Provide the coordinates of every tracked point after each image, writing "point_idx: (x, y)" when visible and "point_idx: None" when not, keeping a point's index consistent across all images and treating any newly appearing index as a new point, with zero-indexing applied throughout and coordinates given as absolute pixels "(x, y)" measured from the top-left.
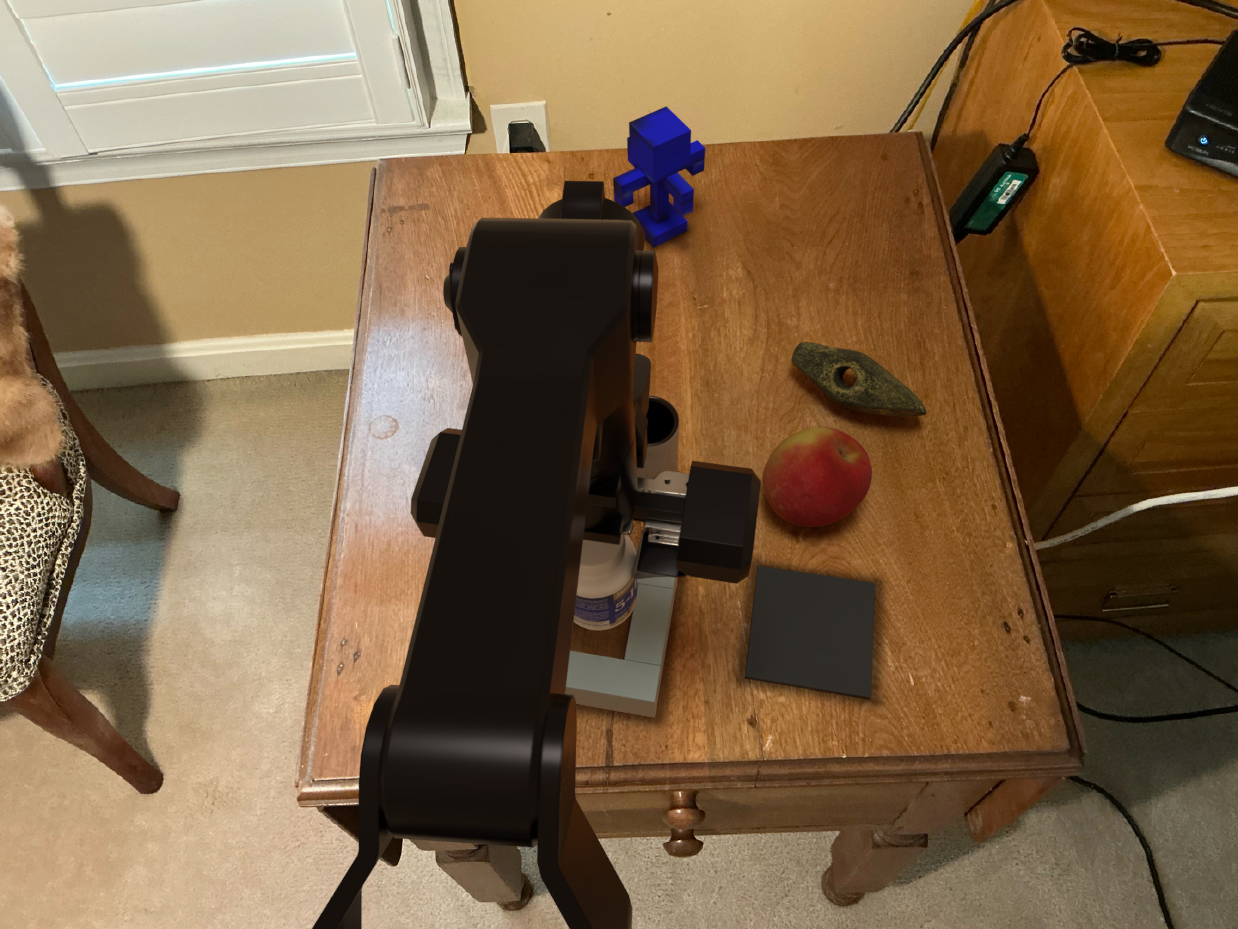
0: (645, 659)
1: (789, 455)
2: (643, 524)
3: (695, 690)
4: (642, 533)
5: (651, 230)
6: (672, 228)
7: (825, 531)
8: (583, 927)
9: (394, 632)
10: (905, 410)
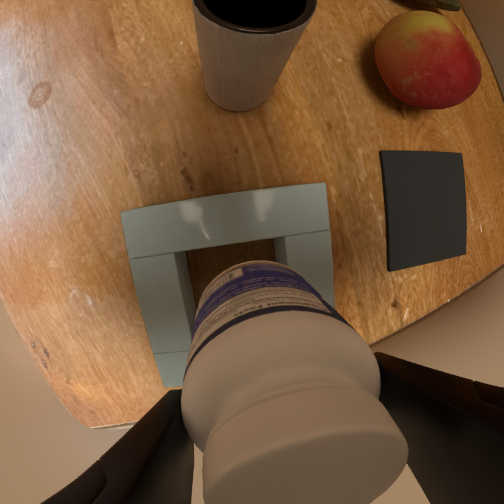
0: None
1: (429, 41)
2: (473, 423)
3: (348, 297)
4: (485, 484)
5: None
6: None
7: None
8: None
9: (56, 329)
10: (452, 6)
